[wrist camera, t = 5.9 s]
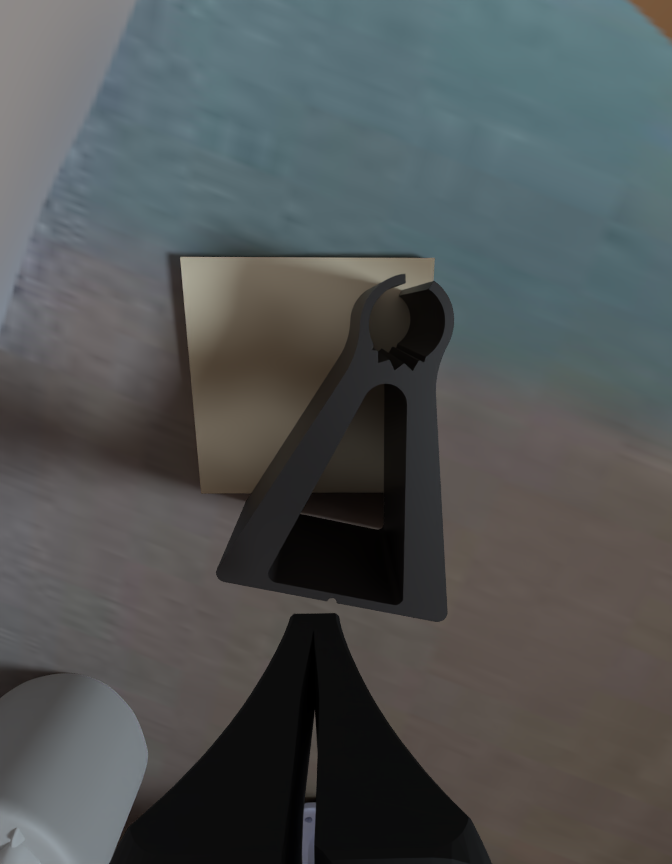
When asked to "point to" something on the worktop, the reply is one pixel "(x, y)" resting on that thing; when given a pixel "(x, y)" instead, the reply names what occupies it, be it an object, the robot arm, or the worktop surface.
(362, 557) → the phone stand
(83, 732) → the lumpy-topped squat cylinder
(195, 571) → the worktop surface
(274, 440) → the birch board
